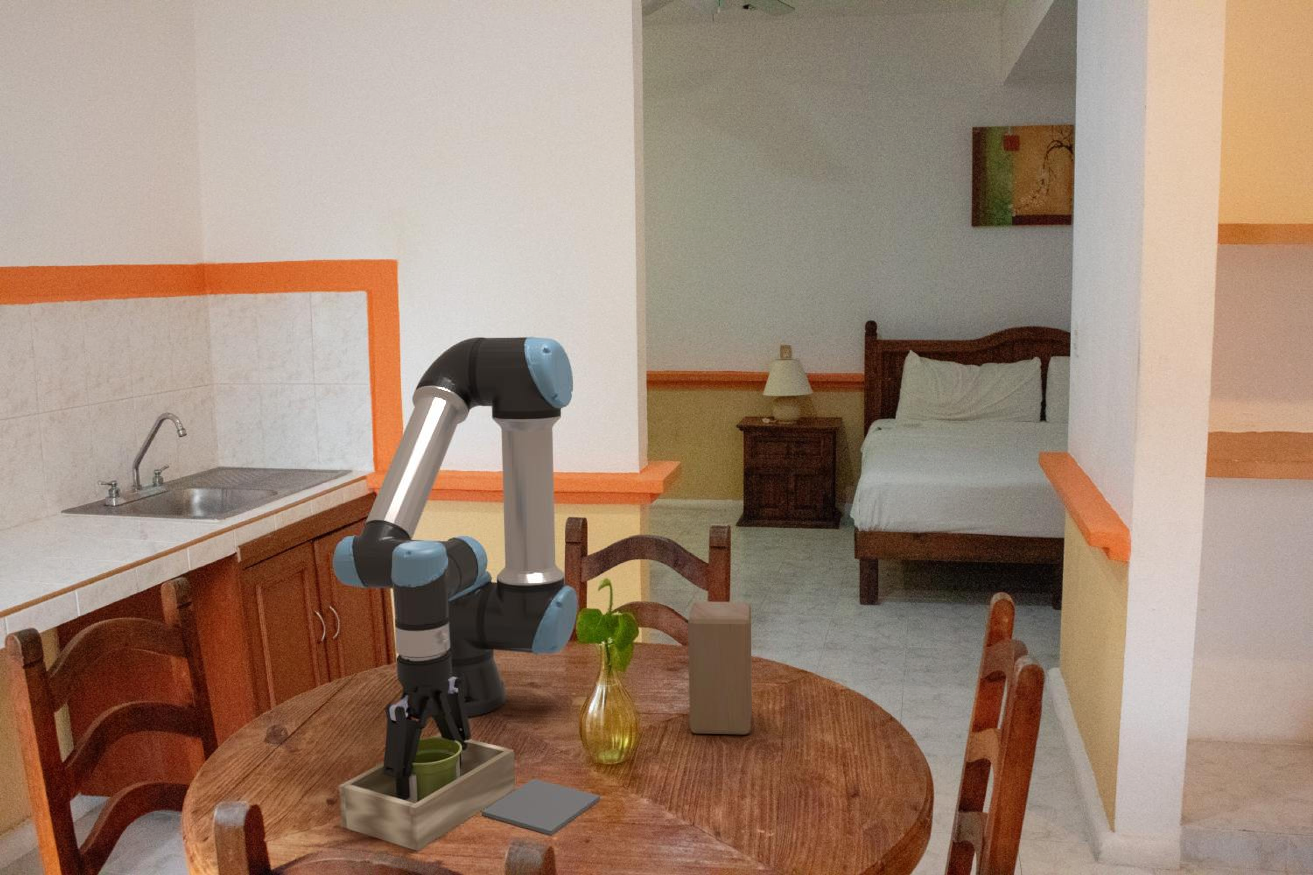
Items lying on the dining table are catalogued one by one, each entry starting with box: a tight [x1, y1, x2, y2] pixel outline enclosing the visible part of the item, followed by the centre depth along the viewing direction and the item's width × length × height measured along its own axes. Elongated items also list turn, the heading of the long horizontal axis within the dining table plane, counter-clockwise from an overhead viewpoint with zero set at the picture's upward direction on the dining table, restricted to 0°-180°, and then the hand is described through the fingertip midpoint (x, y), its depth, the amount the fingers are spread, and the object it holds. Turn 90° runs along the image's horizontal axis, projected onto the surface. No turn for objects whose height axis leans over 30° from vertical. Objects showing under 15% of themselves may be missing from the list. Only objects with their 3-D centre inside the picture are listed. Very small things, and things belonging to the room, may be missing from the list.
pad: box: [481, 778, 601, 836], centre depth 163 cm, size 12×12×1 cm
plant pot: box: [403, 736, 462, 802], centre depth 163 cm, size 9×9×9 cm
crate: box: [338, 732, 516, 852], centre depth 164 cm, size 14×21×6 cm, turn 149°
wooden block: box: [687, 601, 753, 735], centre depth 191 cm, size 10×10×20 cm
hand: (431, 804), depth 164 cm, fingers closed on plant pot, 8 cm apart
